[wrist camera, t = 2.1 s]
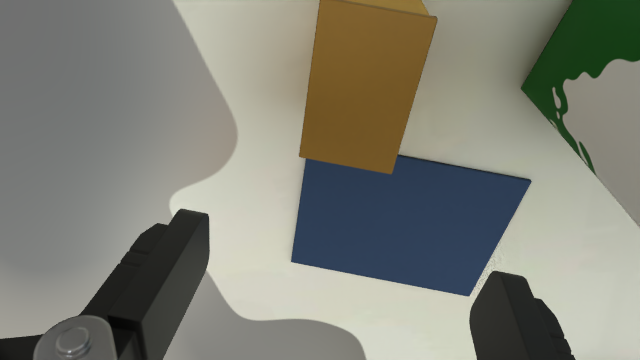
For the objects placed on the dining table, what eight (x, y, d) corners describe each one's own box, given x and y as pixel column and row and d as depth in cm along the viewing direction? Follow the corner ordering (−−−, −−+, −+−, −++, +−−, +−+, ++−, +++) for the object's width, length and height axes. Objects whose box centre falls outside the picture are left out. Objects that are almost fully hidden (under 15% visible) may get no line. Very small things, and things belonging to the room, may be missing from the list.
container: (423, -5, 25) (437, 18, 19) (388, 125, 31) (391, 174, 25) (333, -21, 25) (320, -3, 20) (313, 111, 31) (298, 157, 25)
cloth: (530, 179, 32) (531, 181, 31) (468, 294, 39) (469, 296, 39) (309, 138, 32) (308, 139, 32) (291, 259, 40) (291, 262, 40)
